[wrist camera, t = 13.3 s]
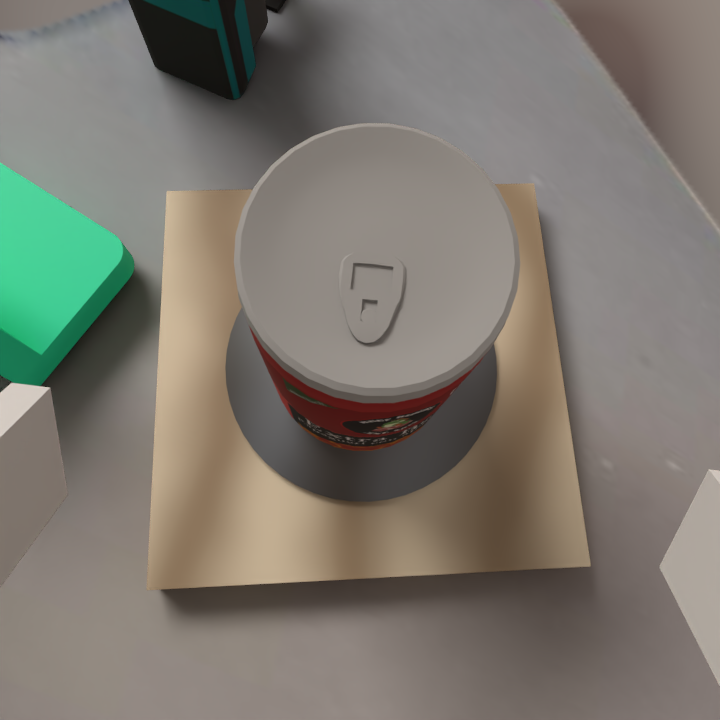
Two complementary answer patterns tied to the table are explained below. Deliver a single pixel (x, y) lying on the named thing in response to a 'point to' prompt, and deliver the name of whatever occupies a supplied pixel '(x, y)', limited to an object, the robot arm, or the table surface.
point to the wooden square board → (341, 466)
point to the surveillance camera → (205, 39)
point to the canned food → (374, 278)
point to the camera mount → (50, 278)
